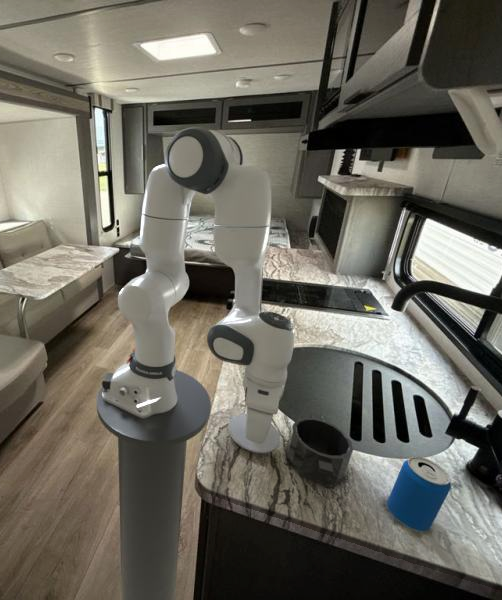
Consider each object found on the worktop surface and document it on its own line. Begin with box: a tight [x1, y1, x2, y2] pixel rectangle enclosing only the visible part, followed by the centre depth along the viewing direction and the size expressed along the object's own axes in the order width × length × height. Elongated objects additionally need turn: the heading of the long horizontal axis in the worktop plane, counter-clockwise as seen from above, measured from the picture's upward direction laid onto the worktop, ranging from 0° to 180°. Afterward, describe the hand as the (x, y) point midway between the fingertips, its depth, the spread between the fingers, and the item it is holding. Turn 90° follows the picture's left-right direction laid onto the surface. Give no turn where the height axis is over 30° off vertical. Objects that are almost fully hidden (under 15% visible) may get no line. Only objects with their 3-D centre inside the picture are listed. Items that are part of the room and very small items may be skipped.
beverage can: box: [386, 455, 452, 532], centre depth 56 cm, size 6×6×12 cm
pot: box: [286, 412, 355, 486], centre depth 68 cm, size 12×17×7 cm
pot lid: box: [227, 413, 281, 454], centre depth 75 cm, size 12×12×5 cm
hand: (254, 428), depth 75 cm, fingers closed on pot lid, 2 cm apart
